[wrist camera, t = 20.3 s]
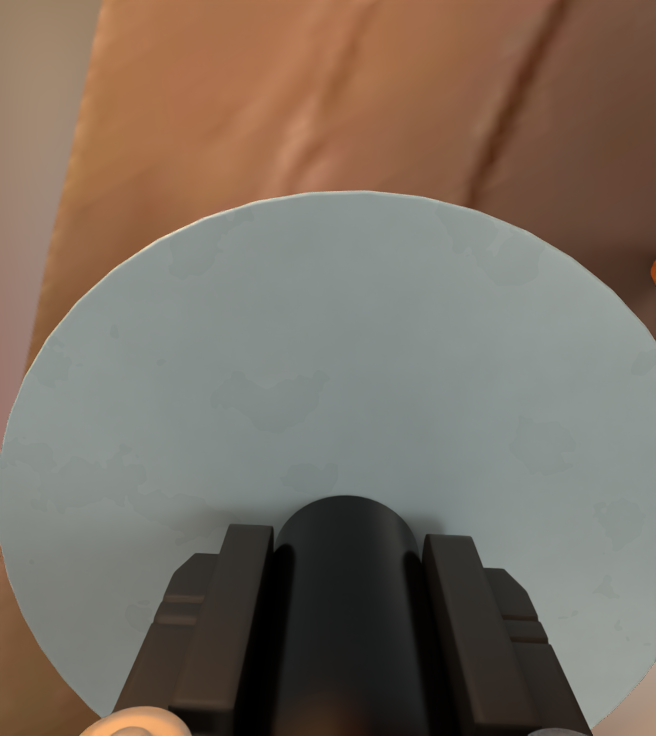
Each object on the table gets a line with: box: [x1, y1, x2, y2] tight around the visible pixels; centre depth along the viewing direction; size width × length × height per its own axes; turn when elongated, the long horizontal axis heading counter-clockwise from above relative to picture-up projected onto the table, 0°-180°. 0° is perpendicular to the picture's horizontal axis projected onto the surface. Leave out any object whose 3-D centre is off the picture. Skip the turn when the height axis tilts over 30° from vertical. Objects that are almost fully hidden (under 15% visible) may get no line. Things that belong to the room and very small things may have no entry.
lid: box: [0, 190, 656, 736], centre depth 8 cm, size 13×13×6 cm
